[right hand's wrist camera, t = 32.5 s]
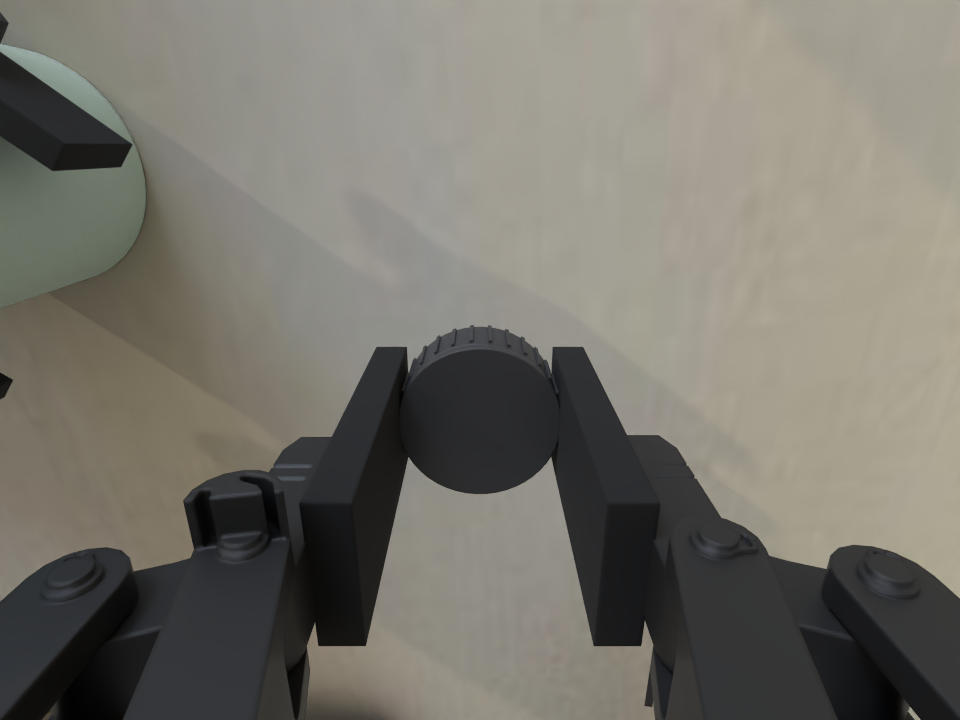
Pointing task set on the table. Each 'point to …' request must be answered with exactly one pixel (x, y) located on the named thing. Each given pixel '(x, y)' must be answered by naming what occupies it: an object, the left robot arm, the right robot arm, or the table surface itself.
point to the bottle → (64, 201)
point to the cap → (479, 411)
